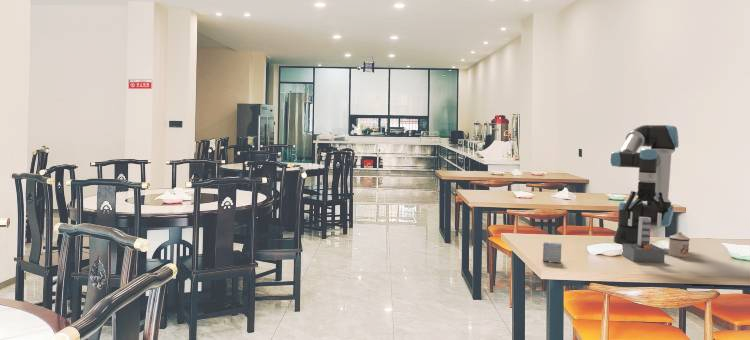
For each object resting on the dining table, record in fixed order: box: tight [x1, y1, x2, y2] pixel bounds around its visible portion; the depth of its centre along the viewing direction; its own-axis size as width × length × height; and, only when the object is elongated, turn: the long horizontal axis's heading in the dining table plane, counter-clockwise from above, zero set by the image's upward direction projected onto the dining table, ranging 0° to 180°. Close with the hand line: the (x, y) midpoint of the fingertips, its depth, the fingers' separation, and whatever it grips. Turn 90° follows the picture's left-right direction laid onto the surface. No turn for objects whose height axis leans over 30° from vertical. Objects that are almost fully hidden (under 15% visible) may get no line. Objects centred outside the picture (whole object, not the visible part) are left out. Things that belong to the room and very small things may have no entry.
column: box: [637, 217, 651, 248], centre depth 279 cm, size 5×4×20 cm
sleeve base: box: [621, 243, 666, 264], centre depth 280 cm, size 14×14×8 cm
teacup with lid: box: [668, 231, 690, 258], centre depth 291 cm, size 12×9×12 cm
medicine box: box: [542, 241, 562, 264], centre depth 269 cm, size 8×4×9 cm, turn 71°
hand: (644, 226), depth 279 cm, fingers open, 13 cm apart
